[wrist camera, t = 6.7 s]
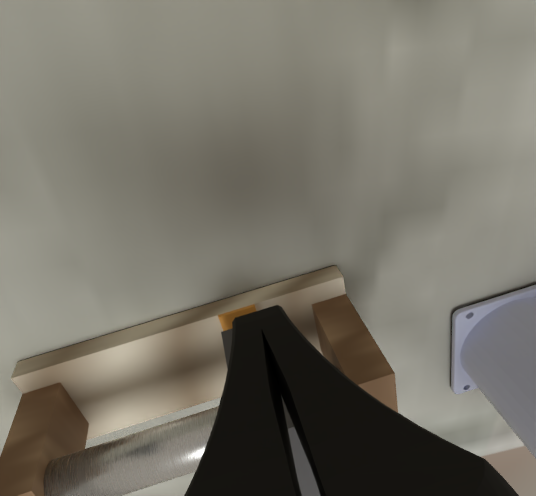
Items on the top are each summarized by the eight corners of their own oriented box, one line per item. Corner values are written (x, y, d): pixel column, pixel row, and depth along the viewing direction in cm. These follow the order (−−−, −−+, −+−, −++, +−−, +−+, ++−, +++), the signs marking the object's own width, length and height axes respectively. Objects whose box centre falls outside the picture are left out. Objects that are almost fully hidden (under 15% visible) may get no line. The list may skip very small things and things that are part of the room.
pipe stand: (335, 265, 25) (393, 355, 18) (347, 341, 28) (401, 440, 22) (17, 361, 23) (-35, 493, 17) (68, 429, 26) (39, 561, 20)
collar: (267, 317, 22) (302, 424, 16) (290, 400, 25) (326, 510, 20) (220, 331, 22) (240, 444, 16) (250, 412, 25) (275, 528, 20)
